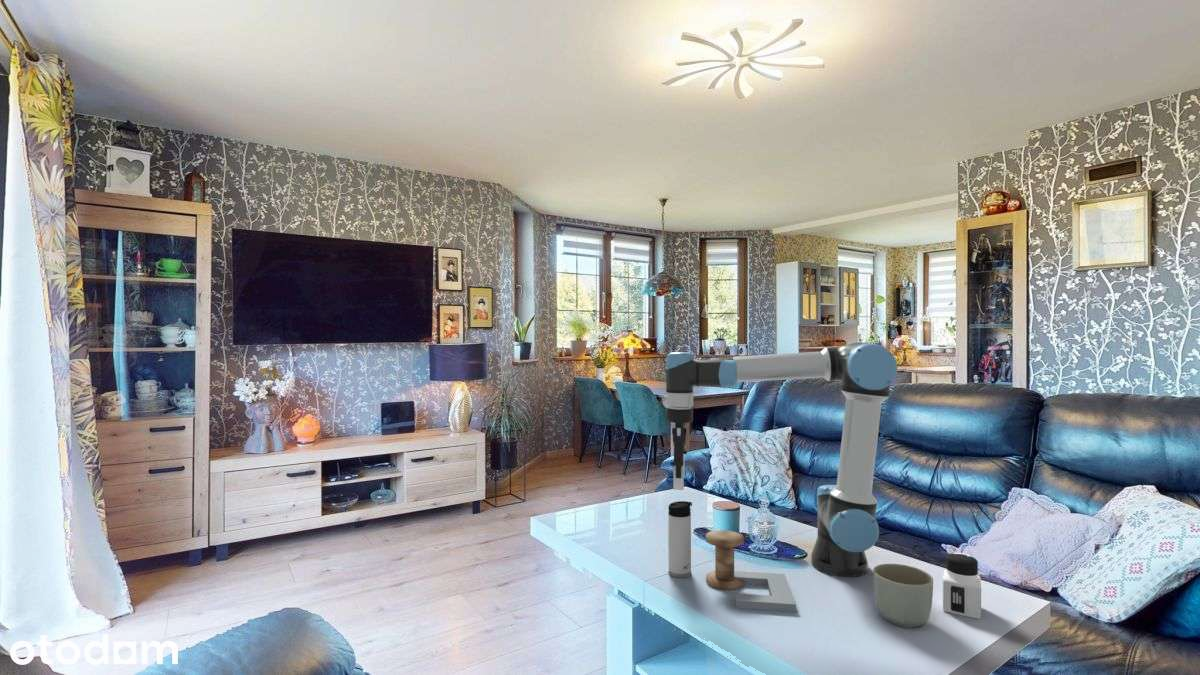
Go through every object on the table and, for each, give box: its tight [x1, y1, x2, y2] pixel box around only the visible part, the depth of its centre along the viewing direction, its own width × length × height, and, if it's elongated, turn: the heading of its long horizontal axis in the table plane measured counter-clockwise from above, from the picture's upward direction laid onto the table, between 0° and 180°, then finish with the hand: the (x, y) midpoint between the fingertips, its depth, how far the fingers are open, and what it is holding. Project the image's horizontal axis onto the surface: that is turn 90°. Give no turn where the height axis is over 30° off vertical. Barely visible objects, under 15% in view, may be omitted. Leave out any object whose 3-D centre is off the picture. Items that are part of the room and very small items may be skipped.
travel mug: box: [667, 500, 693, 579], centre depth 163 cm, size 6×7×20 cm
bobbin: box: [705, 529, 745, 591], centre depth 158 cm, size 10×10×12 cm
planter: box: [872, 563, 934, 628], centre depth 136 cm, size 12×12×11 cm
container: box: [942, 552, 982, 620], centre depth 142 cm, size 8×8×13 cm
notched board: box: [734, 570, 797, 614], centre depth 150 cm, size 14×18×2 cm
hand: (679, 483), depth 163 cm, fingers open, 13 cm apart
